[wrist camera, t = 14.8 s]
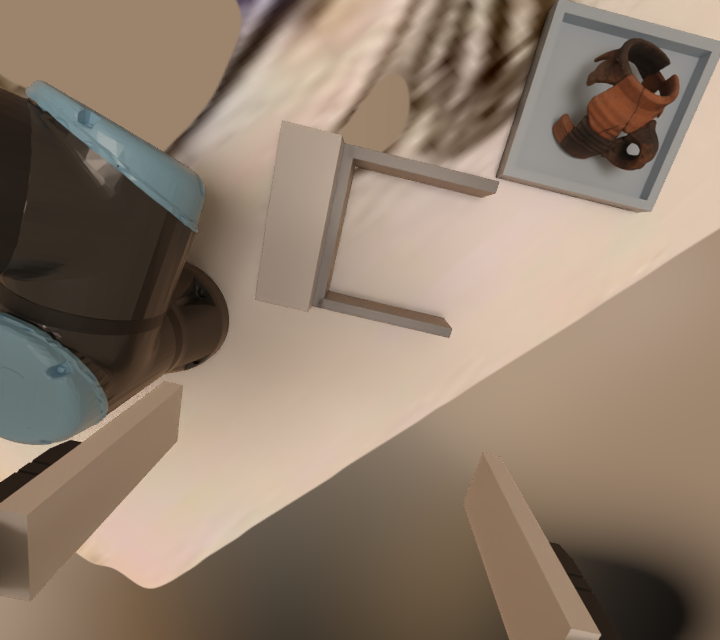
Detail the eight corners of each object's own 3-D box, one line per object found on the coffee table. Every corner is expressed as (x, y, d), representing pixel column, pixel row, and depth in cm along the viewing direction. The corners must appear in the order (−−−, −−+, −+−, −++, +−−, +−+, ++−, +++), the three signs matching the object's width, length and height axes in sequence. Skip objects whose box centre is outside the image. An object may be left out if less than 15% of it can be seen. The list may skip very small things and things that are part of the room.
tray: (495, 177, 41) (502, 174, 38) (548, 11, 36) (559, -2, 34) (636, 212, 41) (651, 211, 39) (705, 53, 37) (726, 42, 35)
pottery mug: (531, 109, 38) (598, 38, 30) (584, 90, 41) (657, 21, 33) (584, 200, 38) (667, 151, 30) (634, 174, 41) (720, 124, 33)
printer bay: (274, 287, 45) (254, 299, 37) (298, 141, 40) (281, 120, 32) (441, 326, 46) (455, 346, 38) (484, 187, 41) (510, 177, 33)
